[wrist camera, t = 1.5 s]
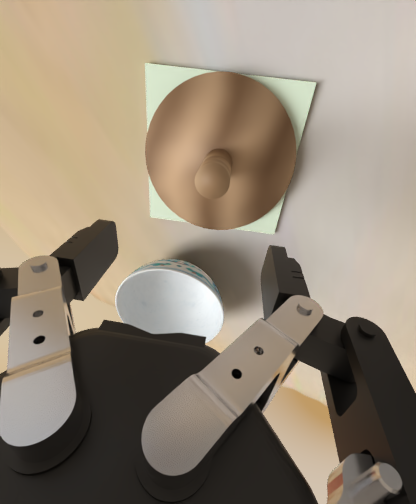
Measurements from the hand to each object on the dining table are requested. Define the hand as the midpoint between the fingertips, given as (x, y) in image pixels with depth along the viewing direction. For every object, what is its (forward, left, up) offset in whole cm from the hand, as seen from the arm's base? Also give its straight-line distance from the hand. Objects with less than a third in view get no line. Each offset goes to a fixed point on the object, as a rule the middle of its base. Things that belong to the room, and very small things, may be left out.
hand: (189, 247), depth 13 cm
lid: (0, 0, -19) cm, 19 cm away
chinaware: (+4, +19, -20) cm, 28 cm away
